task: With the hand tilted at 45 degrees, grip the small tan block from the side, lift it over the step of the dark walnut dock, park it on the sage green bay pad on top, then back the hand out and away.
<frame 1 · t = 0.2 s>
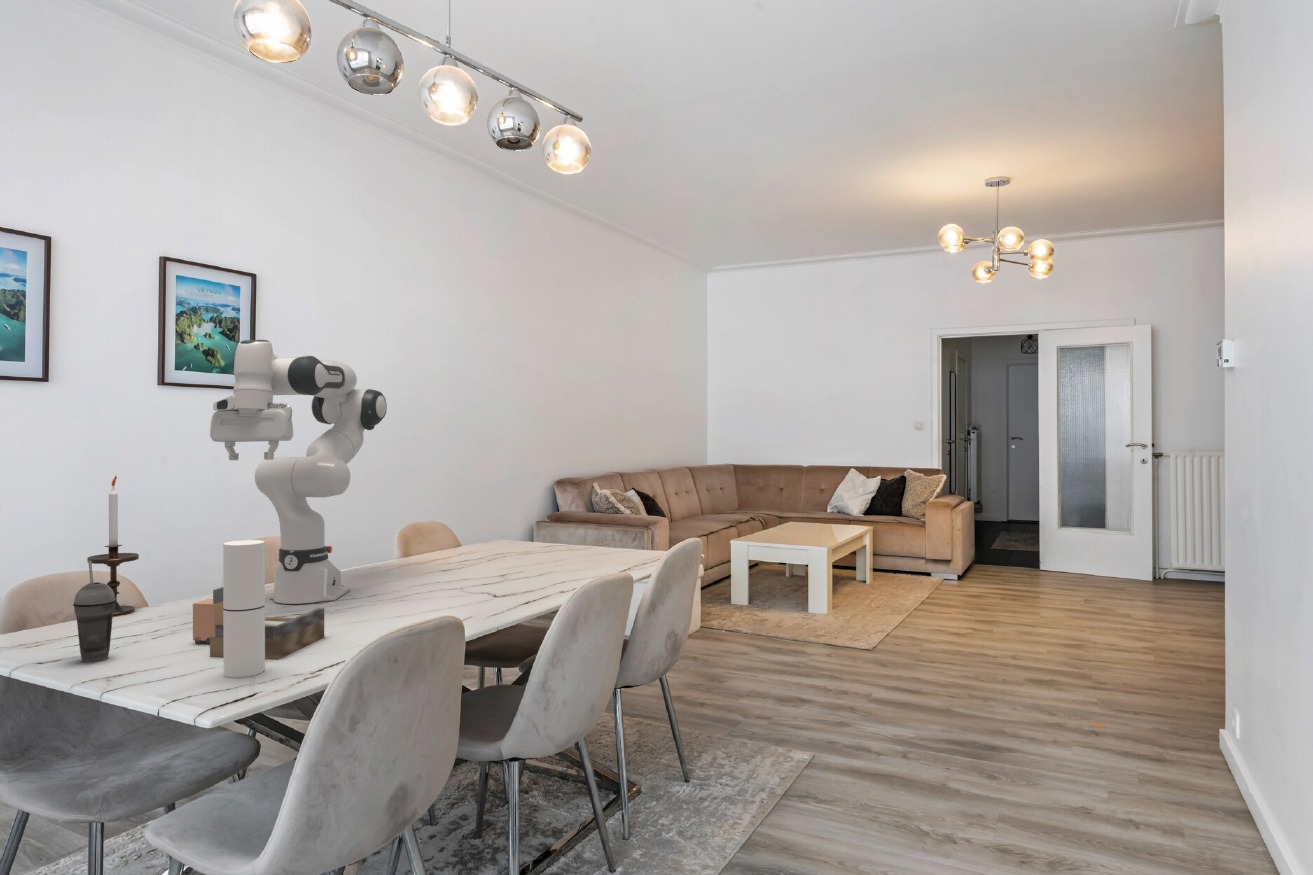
hand: (251, 460, 201), 39 cm above the table, tool pointing down, fingers open, 8 cm apart
tan block: (211, 641, 180), on the table
candlestick: (113, 613, 207), on the table
beverage cup: (95, 660, 166), on the table
cylindrical container: (244, 672, 158), on the table
dock: (269, 646, 177), on the table
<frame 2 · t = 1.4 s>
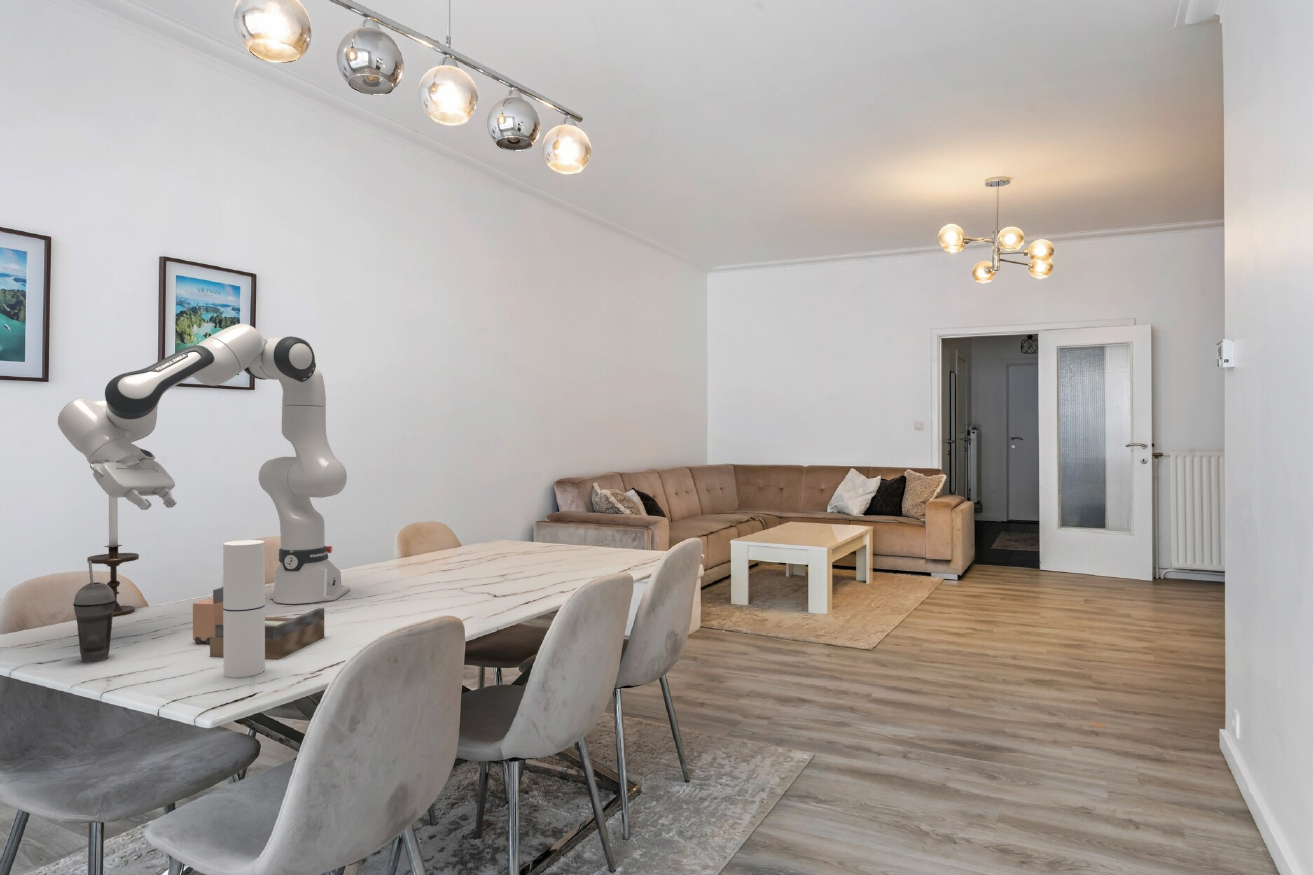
hand: (160, 506, 181), 30 cm above the table, tool tilted 45°, fingers open, 8 cm apart
nothing on the table moved.
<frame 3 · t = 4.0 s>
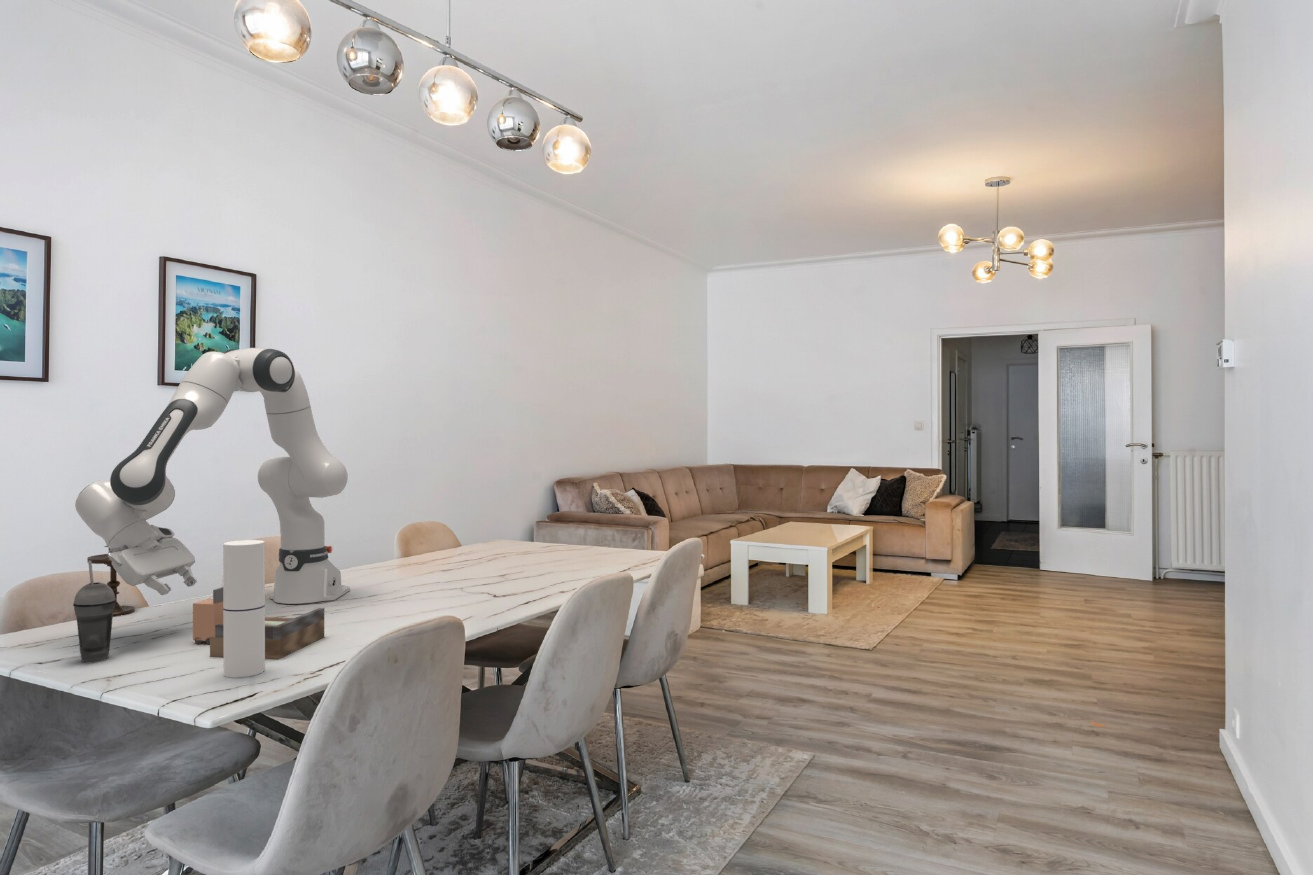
hand: (180, 588, 180), 12 cm above the table, tool tilted 45°, fingers open, 8 cm apart
nothing on the table moved.
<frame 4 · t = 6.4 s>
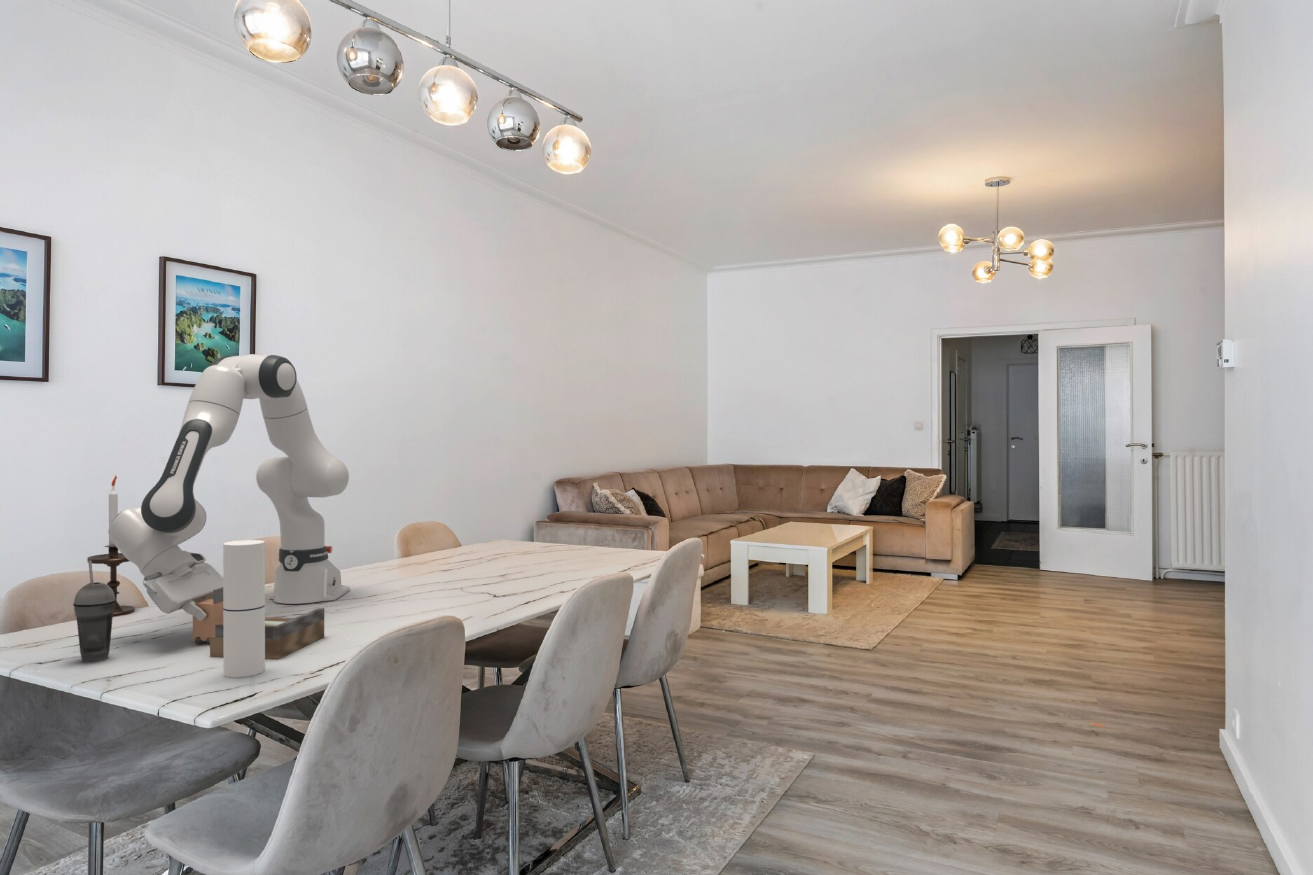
hand: (213, 614, 180), 6 cm above the table, tool tilted 45°, fingers closed on tan block, 5 cm apart
tan block: (211, 641, 180), on the table, touching gripper
everything else where it was.
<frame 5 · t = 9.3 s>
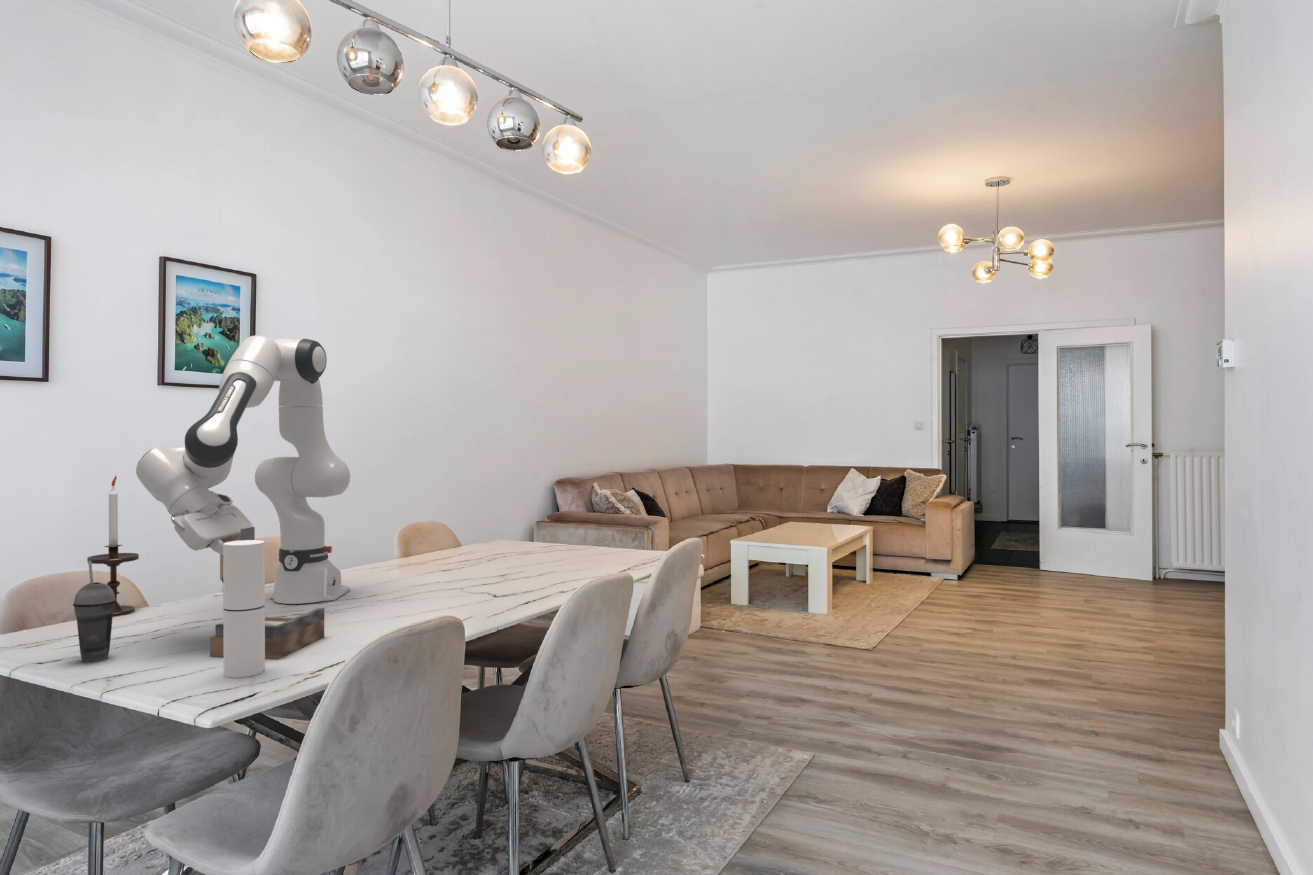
hand: (241, 554, 178), 19 cm above the table, tool tilted 45°, fingers closed on tan block, 5 cm apart
tan block: (238, 581, 178), point 14 cm above the table, touching gripper
everything else where it was.
when the fingers open (12 cm above the table, at t = 12.2 s): tan block drops 1 cm, resting on dock.
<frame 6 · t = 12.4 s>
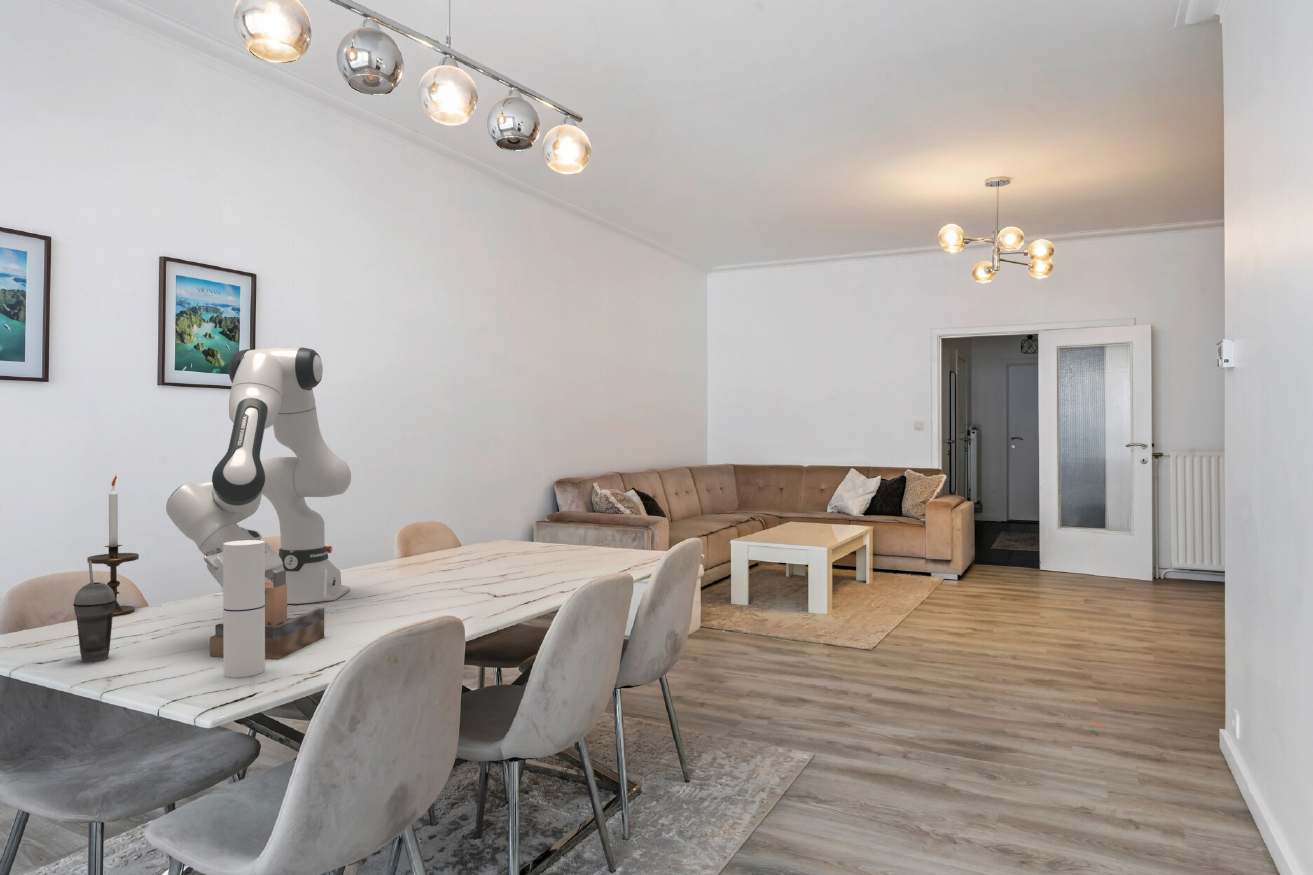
hand: (272, 592, 176), 12 cm above the table, tool tilted 45°, fingers open, 7 cm apart
tan block: (269, 626, 177), point 4 cm above the table, touching dock
everything else where it was.
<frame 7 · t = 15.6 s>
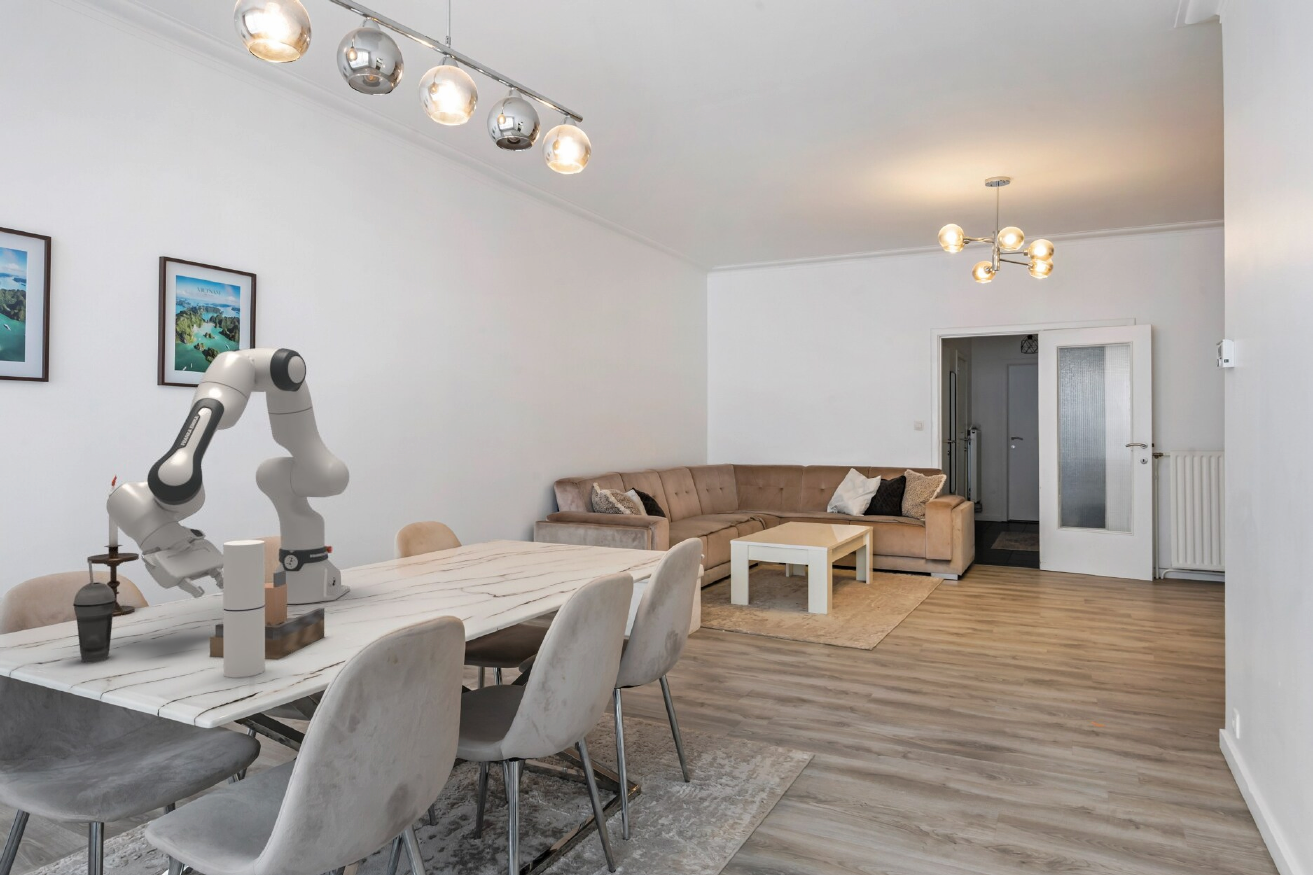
hand: (213, 590, 177), 12 cm above the table, tool tilted 45°, fingers open, 8 cm apart
nothing on the table moved.
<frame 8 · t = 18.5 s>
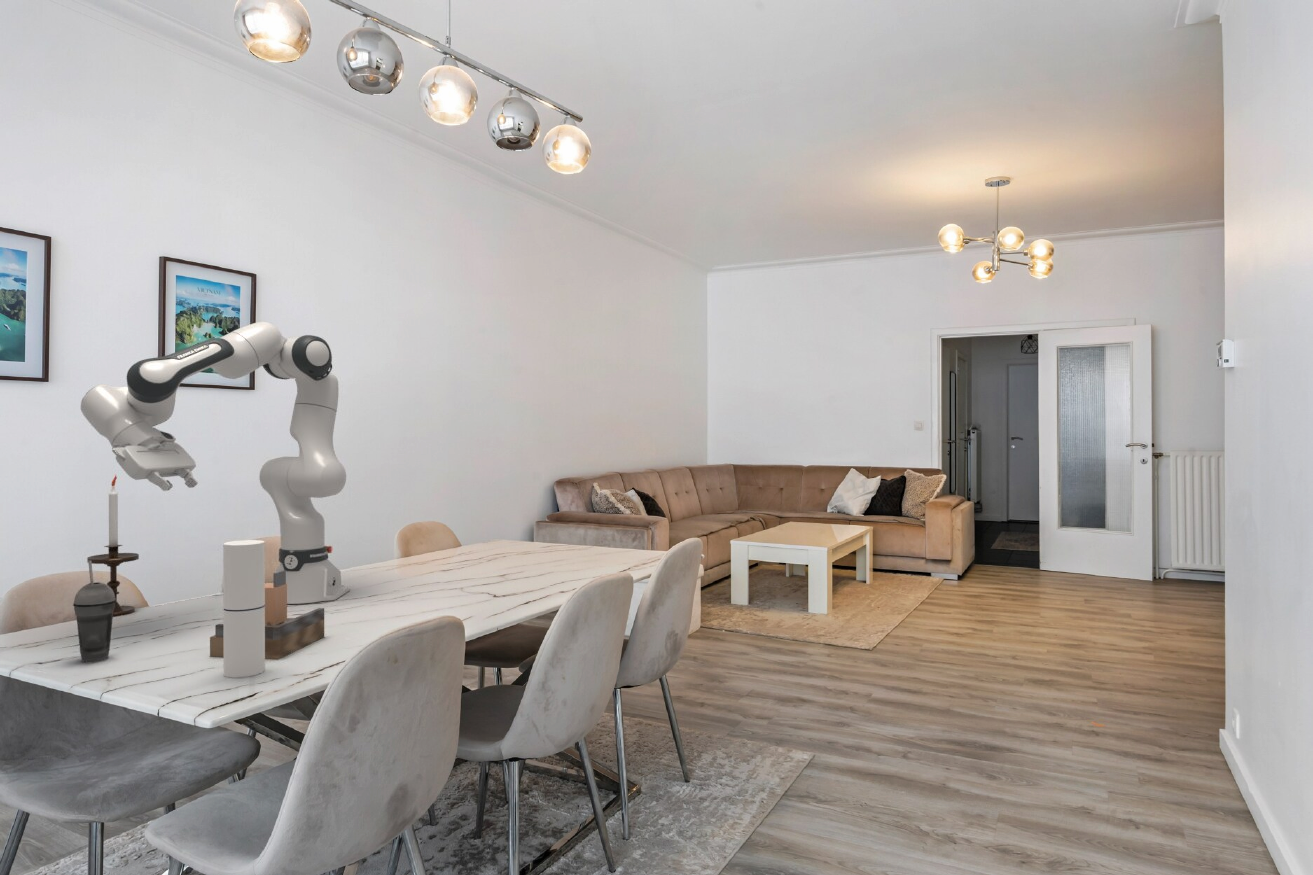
hand: (181, 487, 187), 33 cm above the table, tool tilted 45°, fingers open, 8 cm apart
nothing on the table moved.
at the end: tan block inside the target area (0.1 cm from its centre), point 4.3 cm above the table; tan block tilted 0°; the gripper is holding nothing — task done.
